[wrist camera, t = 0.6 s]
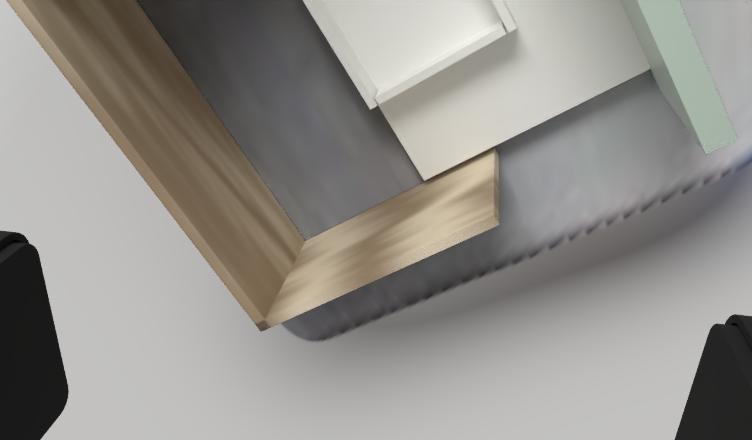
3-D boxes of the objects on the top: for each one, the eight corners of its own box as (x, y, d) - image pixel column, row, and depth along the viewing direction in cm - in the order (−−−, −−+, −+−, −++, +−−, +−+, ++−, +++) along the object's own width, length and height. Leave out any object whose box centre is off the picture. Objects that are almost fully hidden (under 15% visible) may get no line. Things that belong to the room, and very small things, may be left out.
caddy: (290, -216, 30) (226, -242, 23) (498, 155, 36) (499, 224, 29) (86, -53, 35) (-20, -33, 28) (302, 251, 41) (261, 331, 34)
